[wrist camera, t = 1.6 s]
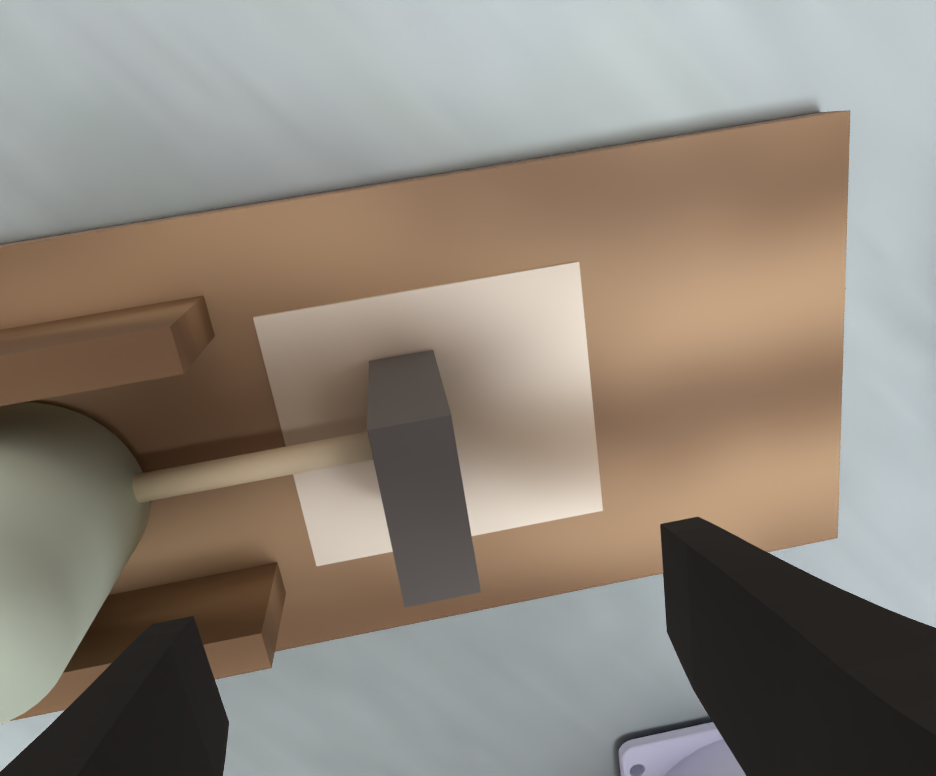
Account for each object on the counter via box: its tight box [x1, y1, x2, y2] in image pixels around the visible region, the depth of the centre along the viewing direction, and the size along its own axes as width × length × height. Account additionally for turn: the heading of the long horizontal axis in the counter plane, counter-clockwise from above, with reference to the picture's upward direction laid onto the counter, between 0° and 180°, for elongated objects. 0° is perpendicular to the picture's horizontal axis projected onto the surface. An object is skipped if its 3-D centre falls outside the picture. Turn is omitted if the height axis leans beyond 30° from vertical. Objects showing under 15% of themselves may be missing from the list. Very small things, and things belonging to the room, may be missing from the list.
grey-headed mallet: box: [0, 350, 481, 724], centre depth 16 cm, size 5×13×5 cm, turn 99°
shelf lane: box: [0, 110, 850, 721], centre depth 18 cm, size 12×25×4 cm, turn 99°
